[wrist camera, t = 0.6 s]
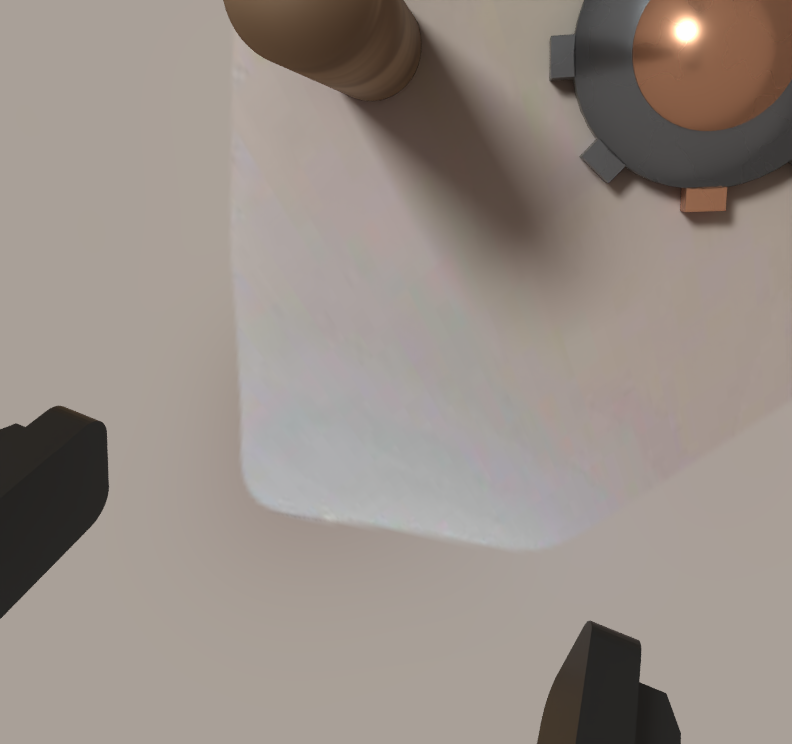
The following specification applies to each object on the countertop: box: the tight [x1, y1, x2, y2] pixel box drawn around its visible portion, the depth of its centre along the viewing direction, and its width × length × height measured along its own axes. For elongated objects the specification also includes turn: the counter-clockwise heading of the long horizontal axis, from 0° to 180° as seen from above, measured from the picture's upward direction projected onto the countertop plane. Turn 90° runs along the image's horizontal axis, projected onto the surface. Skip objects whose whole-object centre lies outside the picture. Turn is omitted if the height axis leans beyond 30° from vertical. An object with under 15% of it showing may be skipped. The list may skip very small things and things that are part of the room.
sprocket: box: [549, 0, 792, 212], centre depth 30 cm, size 13×13×1 cm
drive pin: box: [223, 0, 421, 101], centre depth 27 cm, size 4×4×12 cm
